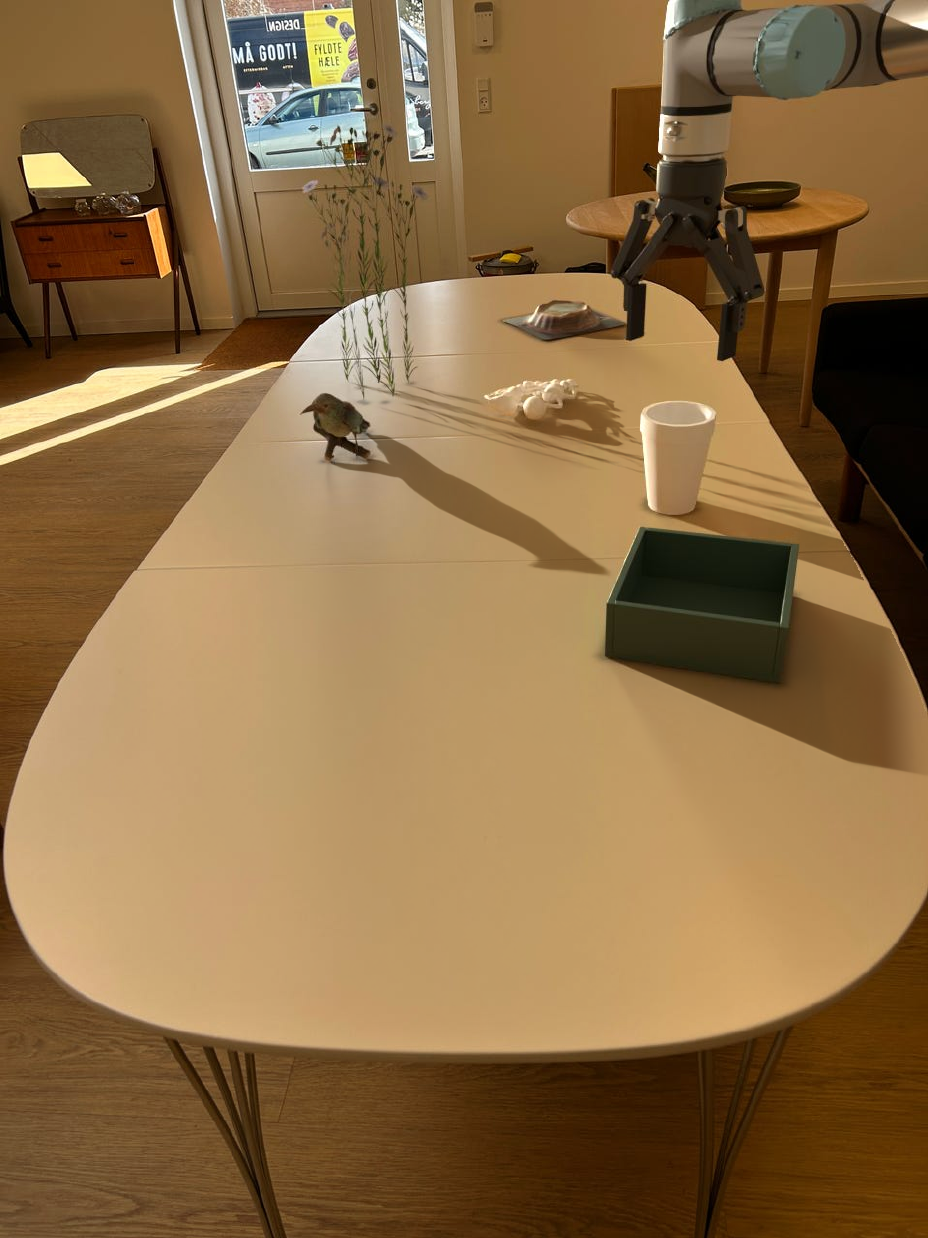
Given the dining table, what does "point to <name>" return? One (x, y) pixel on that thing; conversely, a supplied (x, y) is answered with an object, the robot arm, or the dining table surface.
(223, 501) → the dining table surface
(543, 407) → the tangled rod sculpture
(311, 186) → the wildflower
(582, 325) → the quiche
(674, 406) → the foam cup
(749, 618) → the dish tub
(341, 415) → the bird figurine
